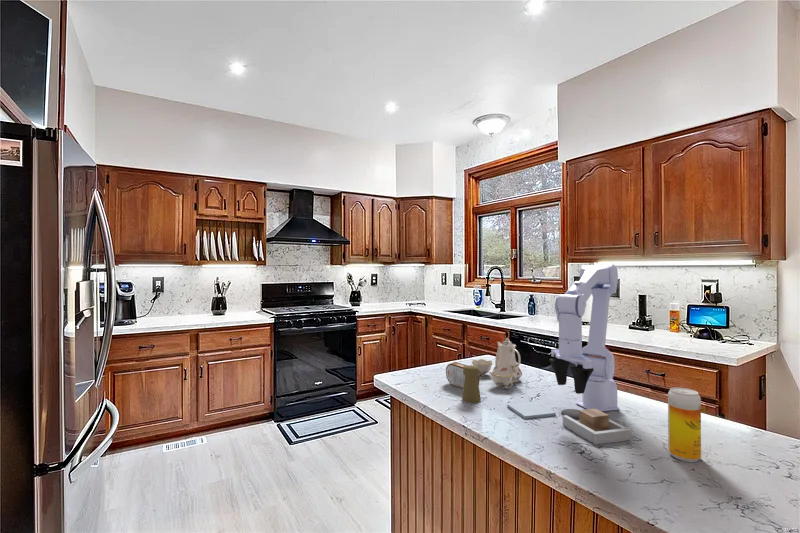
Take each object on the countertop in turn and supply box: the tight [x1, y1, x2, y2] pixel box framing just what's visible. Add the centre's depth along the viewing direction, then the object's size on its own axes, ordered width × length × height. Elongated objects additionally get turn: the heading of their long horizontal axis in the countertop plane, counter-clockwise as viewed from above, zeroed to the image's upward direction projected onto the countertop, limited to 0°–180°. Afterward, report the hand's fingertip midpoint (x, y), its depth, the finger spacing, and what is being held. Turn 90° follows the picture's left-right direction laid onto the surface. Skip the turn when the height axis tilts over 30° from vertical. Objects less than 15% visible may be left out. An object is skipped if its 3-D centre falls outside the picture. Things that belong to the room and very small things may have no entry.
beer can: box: [667, 386, 702, 463], centre depth 91 cm, size 6×6×15 cm
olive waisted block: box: [461, 364, 482, 404], centre depth 130 cm, size 6×6×11 cm
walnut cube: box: [578, 408, 610, 432], centre depth 105 cm, size 5×5×5 cm
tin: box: [445, 361, 480, 390], centre depth 143 cm, size 15×3×8 cm, turn 35°
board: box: [506, 401, 557, 420], centre depth 119 cm, size 10×10×1 cm
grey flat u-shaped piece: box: [562, 415, 632, 445], centre depth 104 cm, size 10×12×2 cm
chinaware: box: [471, 337, 523, 390], centre depth 152 cm, size 28×17×17 cm, turn 17°
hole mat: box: [560, 408, 580, 421], centre depth 116 cm, size 8×8×1 cm
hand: (570, 388), depth 108 cm, fingers open, 7 cm apart
